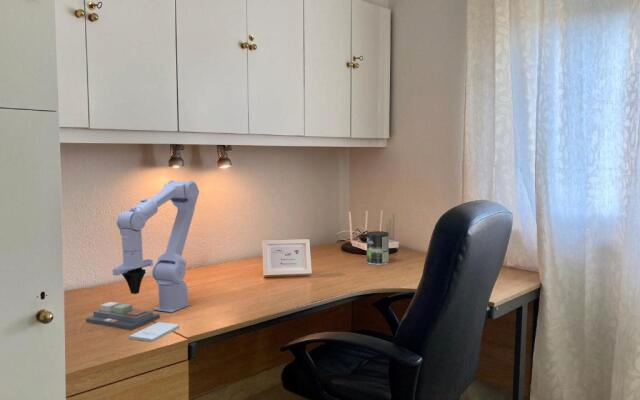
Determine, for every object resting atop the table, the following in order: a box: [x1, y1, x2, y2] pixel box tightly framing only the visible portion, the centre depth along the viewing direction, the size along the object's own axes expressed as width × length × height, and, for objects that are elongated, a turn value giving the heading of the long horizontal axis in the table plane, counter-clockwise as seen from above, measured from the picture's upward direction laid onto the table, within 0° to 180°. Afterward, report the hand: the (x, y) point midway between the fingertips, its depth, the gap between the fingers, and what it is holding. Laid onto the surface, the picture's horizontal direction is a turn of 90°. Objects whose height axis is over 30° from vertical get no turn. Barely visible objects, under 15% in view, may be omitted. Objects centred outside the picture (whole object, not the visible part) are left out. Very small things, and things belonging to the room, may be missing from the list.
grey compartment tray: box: [85, 308, 161, 331], centre depth 164 cm, size 12×19×3 cm, turn 65°
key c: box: [126, 309, 146, 317], centre depth 162 cm, size 4×4×2 cm
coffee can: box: [366, 230, 390, 266], centre depth 241 cm, size 10×10×14 cm
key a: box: [99, 301, 120, 313], centre depth 166 cm, size 4×4×2 cm
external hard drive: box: [128, 321, 180, 343], centre depth 152 cm, size 2×8×12 cm
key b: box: [113, 303, 133, 315], centre depth 164 cm, size 4×4×2 cm
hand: (134, 293), depth 161 cm, fingers closed
